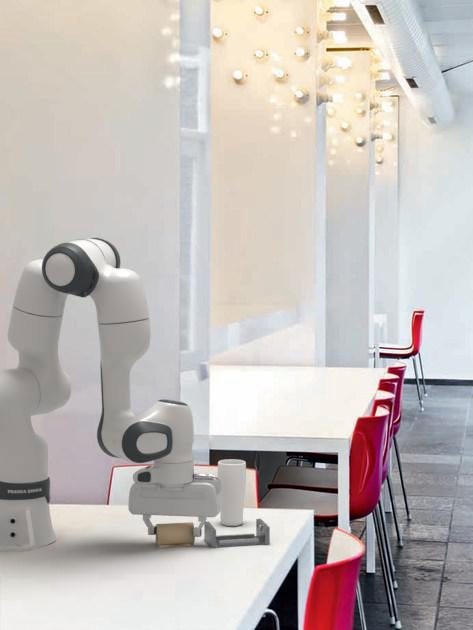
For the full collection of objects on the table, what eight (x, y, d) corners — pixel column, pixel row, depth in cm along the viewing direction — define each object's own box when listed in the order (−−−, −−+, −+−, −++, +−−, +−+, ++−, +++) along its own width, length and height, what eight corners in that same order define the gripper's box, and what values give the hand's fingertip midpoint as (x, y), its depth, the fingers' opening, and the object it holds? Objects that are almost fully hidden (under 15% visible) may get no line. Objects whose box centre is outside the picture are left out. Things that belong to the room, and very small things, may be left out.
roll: (158, 549, 241) (157, 526, 241) (154, 544, 246) (154, 522, 246) (195, 547, 243) (195, 524, 243) (191, 542, 248) (191, 520, 248)
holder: (211, 550, 241) (211, 530, 240) (204, 541, 248) (204, 521, 248) (269, 547, 244) (269, 527, 243) (260, 538, 251) (260, 518, 251)
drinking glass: (242, 528, 260) (243, 465, 259) (214, 526, 262) (214, 464, 261) (248, 521, 267) (248, 459, 266) (220, 520, 268) (221, 458, 267)
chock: (159, 549, 242) (159, 546, 241) (155, 543, 246) (155, 540, 246) (190, 547, 243) (190, 544, 243) (186, 541, 248) (186, 538, 248)
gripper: (223, 471, 244) (223, 533, 245) (133, 469, 248) (134, 530, 249) (217, 477, 238) (218, 540, 239) (125, 474, 242) (126, 537, 243)
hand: (174, 535), depth 244 cm, fingers closed on roll, 8 cm apart
